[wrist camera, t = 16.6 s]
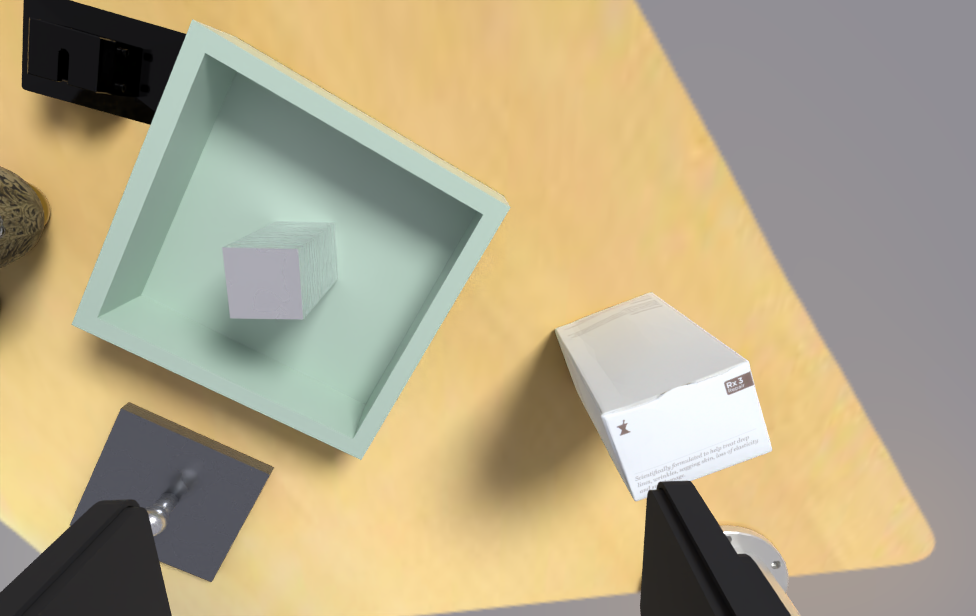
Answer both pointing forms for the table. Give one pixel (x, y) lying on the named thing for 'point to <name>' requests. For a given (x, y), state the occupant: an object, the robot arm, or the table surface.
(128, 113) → the black slotted box
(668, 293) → the table surface
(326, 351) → the bin
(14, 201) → the cup
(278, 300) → the strut
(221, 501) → the stud plate
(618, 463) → the skincare box
